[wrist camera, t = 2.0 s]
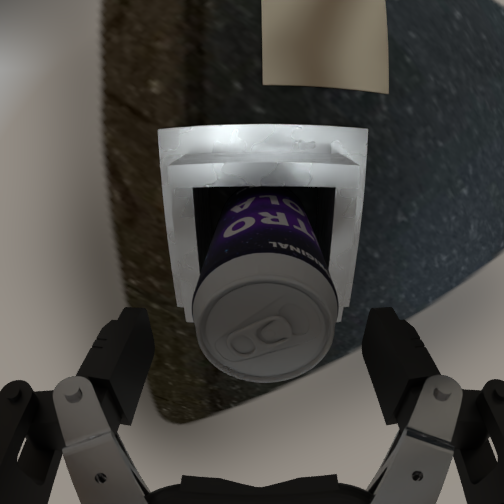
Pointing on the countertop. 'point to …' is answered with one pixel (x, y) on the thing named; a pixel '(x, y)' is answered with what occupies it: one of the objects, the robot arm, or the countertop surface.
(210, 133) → the sleeve
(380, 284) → the countertop surface
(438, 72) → the countertop surface
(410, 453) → the robot arm
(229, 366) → the beverage can
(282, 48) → the birch pad
